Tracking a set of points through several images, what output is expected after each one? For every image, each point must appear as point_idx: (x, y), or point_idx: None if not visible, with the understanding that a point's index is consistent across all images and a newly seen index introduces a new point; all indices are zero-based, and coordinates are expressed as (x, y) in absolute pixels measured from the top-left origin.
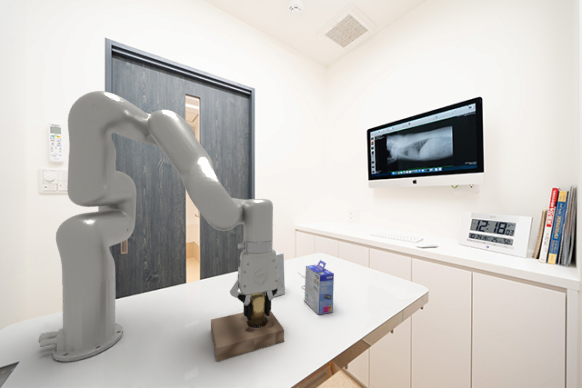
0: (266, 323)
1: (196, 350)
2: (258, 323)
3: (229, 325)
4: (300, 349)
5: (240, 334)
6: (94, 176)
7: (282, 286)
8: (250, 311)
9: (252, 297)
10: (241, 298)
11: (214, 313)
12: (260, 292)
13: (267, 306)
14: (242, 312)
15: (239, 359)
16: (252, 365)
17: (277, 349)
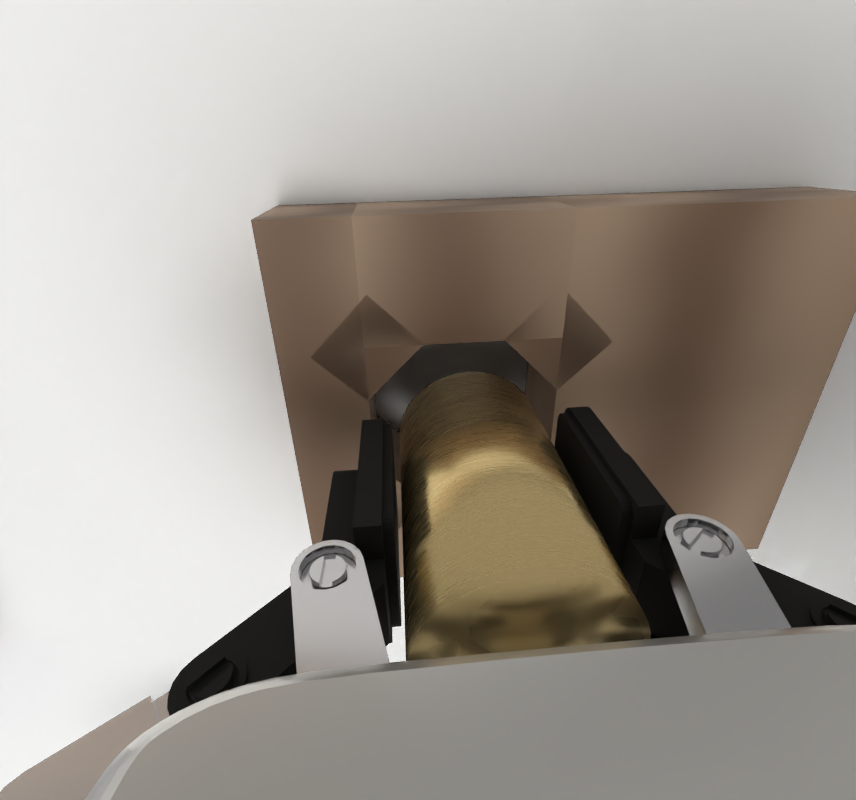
0: None
1: (852, 352)
2: (481, 376)
3: (682, 448)
4: (146, 27)
5: (659, 307)
6: None
7: None
8: (601, 456)
9: (639, 604)
10: (812, 608)
11: None
12: (589, 646)
13: (386, 482)
14: None
15: (669, 143)
16: (611, 19)
17: (359, 128)
